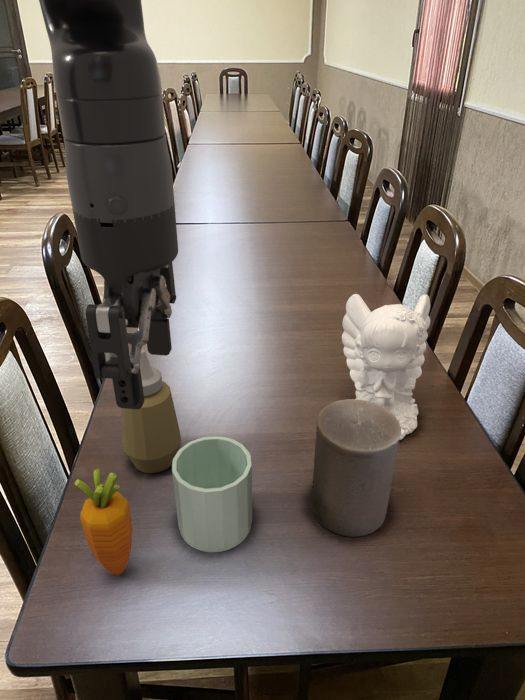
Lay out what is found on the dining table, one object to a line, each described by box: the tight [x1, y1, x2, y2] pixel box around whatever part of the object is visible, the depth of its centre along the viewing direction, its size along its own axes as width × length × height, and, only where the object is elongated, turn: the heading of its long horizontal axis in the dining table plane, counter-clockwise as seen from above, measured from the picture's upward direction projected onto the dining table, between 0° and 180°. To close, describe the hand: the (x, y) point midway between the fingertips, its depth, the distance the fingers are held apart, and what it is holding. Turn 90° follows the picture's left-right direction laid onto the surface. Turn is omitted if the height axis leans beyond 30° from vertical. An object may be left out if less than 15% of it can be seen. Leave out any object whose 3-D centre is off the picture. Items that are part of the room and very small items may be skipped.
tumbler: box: [171, 435, 253, 553], centre depth 64 cm, size 9×9×10 cm
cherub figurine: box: [341, 293, 431, 441], centre depth 80 cm, size 13×12×20 cm
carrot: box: [74, 468, 133, 576], centre depth 56 cm, size 5×5×15 cm
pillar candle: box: [310, 398, 401, 538], centre depth 65 cm, size 10×10×15 cm
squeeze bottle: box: [120, 348, 182, 474], centre depth 71 cm, size 8×8×18 cm
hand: (146, 378), depth 49 cm, fingers open, 8 cm apart
